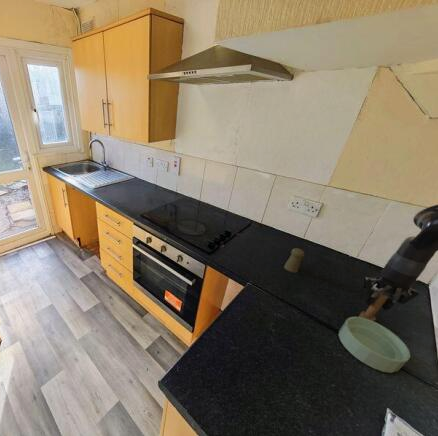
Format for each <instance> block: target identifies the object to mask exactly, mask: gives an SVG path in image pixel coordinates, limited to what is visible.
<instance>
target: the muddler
mask: <svg viewBox="0 0 438 436" xmlns="http://www.w3.org/2000/svg"><path fill="white" fill-rule="evenodd" d="M387 298H389V295H387V294H385V293H382V294H379V295H378V296H376V297H375V299H374V301H373V302H372V303H371V305H368V308H367V309H366V310H362V311H361V312H360V313H359V315H358V316H357V317H362V318H365V319H369V320H372V321H374V322H375V321H376V320H377V318H376V314H377V313H378V312H379V310H380V309H381V308H382V305H383V304H384V302H385V301H386V300H387Z"/></svg>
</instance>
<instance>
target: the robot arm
mask: <svg viewBox="0 0 438 436" xmlns="http://www.w3.org/2000/svg"><path fill="white" fill-rule="evenodd" d="M412 219H413V220H412V221H413V224H414V225H415V226H416V227H417V228H418V229H419V230H420V231H419V233H418V234H417V235H416V236H408V237H406V238H404V240H403V241H402V242H401V243H400V245H399V247H398V248H397V249H396V251H395V252H394V253H393V254H392V255H391V256H390V258H389V259H388V260H387V262H386V264H385V265H384V266H383V268H382V269H381V271H380V273H379V275H377V276H376V277H370V276H369V275H365V276H364V279H363V287H362V289H363V291H364V292H365V294H366V296H365V297H364V302H365V304H366V305H367V306H370V305H371V303H372V302H373V301H374V299H375V298H376V296H378V295H379V294H382V293H383V294H385V293H388V294H389V295H388V298H387V300H386V301H385V302H384V304H383V305H382V306H381V308H382V309H383V310H384V311H385V310H386V311H388V310H391V309H392V308H393V306H394V305H395V304H397V303H399V304H400V305H404V304H407V303H408V302H409V301H411V300H413V299H414V298H416V297H418V296H419V295H420V294H419V292H418V291H417V290H416V289H415V287H411V286H413V285H414V283H415V282H416V281H417V279H418V278H419V277H420V276H421V274H422V273H423V272H424V271H425V270H426V267H427V265H428V264H429V262H430V261H431V259H432V258H433V257H434V256H435V254H436V253H437V252H438V204H435V205H431V206H428V207H425V208H423V209H421V210H419V211H417V213H416V214H415V215H414V216H413V218H412Z"/></svg>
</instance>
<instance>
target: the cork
mask: <svg viewBox="0 0 438 436" xmlns="http://www.w3.org/2000/svg"><path fill="white" fill-rule="evenodd" d="M305 255H306V253H305V251H304V250H303V249H301V248H299V247H295V248H294V247H293V248H292V249H291V255H290V256H289V258H288V259H287V261H286V262H285V264H284V265H283V268H284V269H285V270H286V271H288V272H289V273H292V274H293V273H294V274H295V273H298V272H299V269H300V265H301V262H302V258H304V257H305Z"/></svg>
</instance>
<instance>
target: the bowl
mask: <svg viewBox="0 0 438 436" xmlns="http://www.w3.org/2000/svg"><path fill="white" fill-rule="evenodd" d="M338 339H339V340H340V342H341V344H342V345H343V347H344V348H345V350H347V351H348V352H349V353H350V354H351V355H352V356H353V357H354V358H356V360H359V361H360V362H361V363H363V364H365V365H366V366H368V367H370V368H372V369H375V370H377V371H379V372H380V371H381V372H383V373H389V374H392V373H396V372H398V371H400V369H401V368H402V367H403V366H404V365H405V364H406V363H407V362H409V360H410V358H411V352H410V349H409V348H408V346H407V344H406V343H405V342H404V341H403V340H402V339H401V338H400V337H399V336H398V335H396V334H395V333H394V332H393V331H391V330H390V329H388V328H387V327H385V326H384V325H382V324H380V323H378V322H375V321H372V320H369V319H365V318H362V317H358V316H349V317H348V318H346V320H345V321H344V323H343V324H342V326H341V327H340V328H339V330H338Z"/></svg>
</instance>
